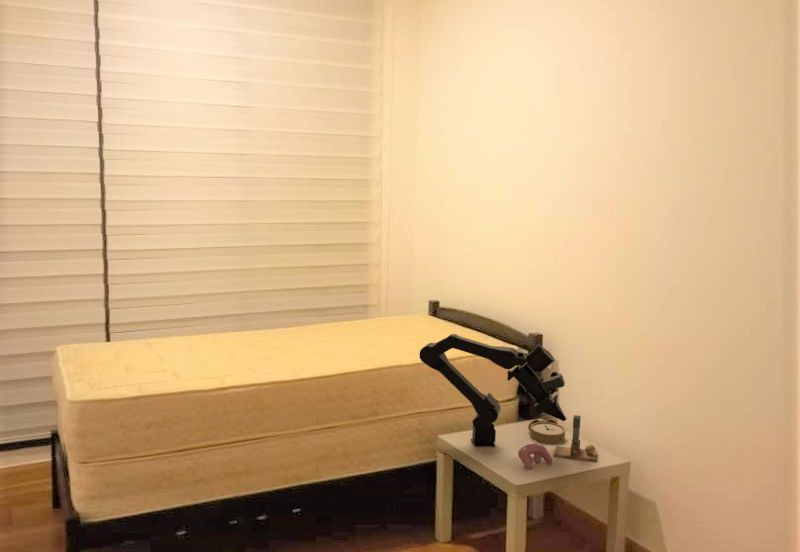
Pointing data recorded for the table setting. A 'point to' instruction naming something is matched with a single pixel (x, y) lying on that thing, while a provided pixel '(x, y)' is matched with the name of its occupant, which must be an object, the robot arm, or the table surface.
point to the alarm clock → (546, 431)
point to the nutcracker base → (576, 452)
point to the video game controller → (538, 453)
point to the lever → (576, 429)
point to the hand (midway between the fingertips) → (565, 420)
